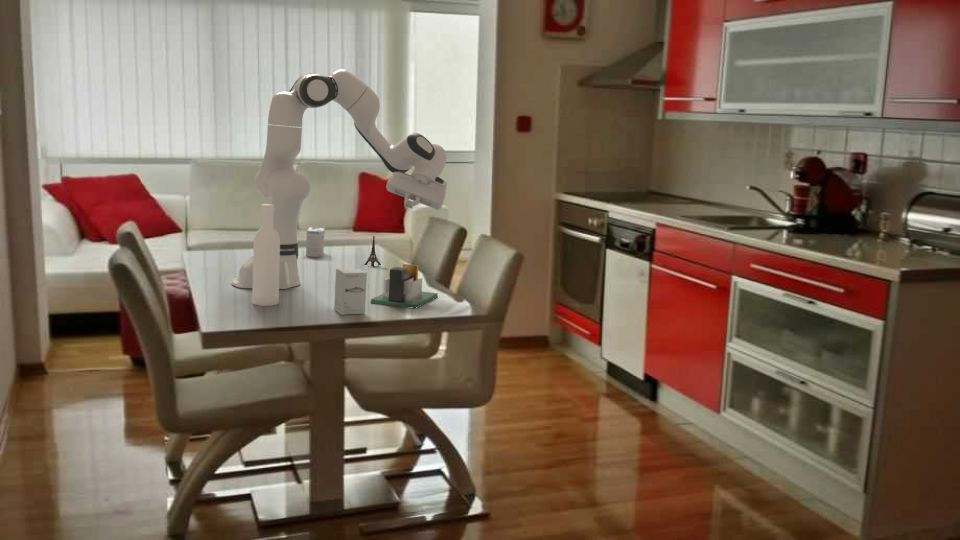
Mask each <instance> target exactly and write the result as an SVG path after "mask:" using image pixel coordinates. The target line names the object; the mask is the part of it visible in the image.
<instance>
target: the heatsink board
mask: <svg viewBox="0 0 960 540" xmlns="http://www.w3.org/2000/svg"><path fill="white" fill-rule="evenodd" d="M407 272H408V268H403V267H400V266H395V267H393V268H390V269H389V277H387V278H385V279H384V280H383V291H382V294H379V295H377V296H375V297H373V298H371V299H370V303H371V304H377V305H386V306H392V305H393V306H394V307H400V306H404V307H403V308H408V307H413V308H412V309H417V308H416V307H418V306H419V307H421V306H423V305H425V304H427V303H429V302H430V300H431V301H433V300H434V299H436V298H437V297H438V295H439V294H438V293H437V292H430V291H423V278H421V277H420V278H418V279H417V280H415V281H414V278H412V277H411V278H409V279H407V280H405V279H404V276H405V275H407ZM435 297H436V298H435ZM433 298H434V299H433ZM428 301H429V302H428ZM426 302H427V303H426ZM424 303H425V304H424ZM422 304H423V305H422ZM420 305H421V306H420ZM419 307H418V308H419Z"/></svg>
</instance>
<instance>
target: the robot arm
mask: <svg viewBox="0 0 960 540" xmlns="http://www.w3.org/2000/svg"><path fill="white" fill-rule="evenodd" d="M332 101H333V102H335V103H337V105H340V107H341V108H343V109H344V110H345V111H346V112H347V113H348V115H350V116H351V118H352V120H353V121H354V123H353V125H354V127H355V129H356V131H357V132H358V133H359V135H360V136H361V137H362V139H364V141H365V142H366V143H367V144H368V145H369V146H370V148H371V149H372V150H373V152H375V153H376V154H377V155H378V157H379V158H380V159H381V161H382V162H383V164H384V166H385V167H386V169H387V170H388V171H389V172H391V173H392V174H391V176H390V178H388V180H387V182H386V190H387V192H390V193H391V194H395V195H397V196H400V197H403V198H404V204H403V206H404V207H407V208H409V209H413V208H414V207H415V206H417V205H419V204H421V205H424V206H427V207H429V208H432V209H434V210H437V211H438V210H441V209H442V208H443V205H444V202H445V198H446V193H447V192H446V191H447V186H448V185H447V183H448V182H447V181H445V180H444V179H443V178H442V177H440V176H441V175H442V172H443V171H444V168H445V166H446V164H447V156H448V155H447V152H446V150H445V149H444V148H443V147H442V146H441V145H439V144H436V143H435V144H434V143H432V142H431V141H430V140H428V139H427V137H425V136H424V135H422V134H421V133H418V132H411V133H409V134H408V135H406V136H405V137H403V138H402V139H401V140H400V141H399V142H397V143H396V144H395V145H394V144H391V143H390V142H389V141H388V140H387V139H386V137H384V135H383V134H382V133H381V132H380V130H378V128H377V126H376V121H377V117H378V115H379V112H380V109H381V108H380V107H381V105H380V98H379V96H378V95H377V93H376V92H375V91H374V89H372V88H371V87H369V85H367V84H366V83H365V82H364V81H363V80H361V79H360V78H359V77H358V76H357V75H355V74H353V73H352V72H350V71H348V70H346V69H337V70H336V71H334V72H332V73H331V74H330V75H329V76H327V75H323V74H320V73H306V74H303V75H301V76H300V77H299V78H297V79H296V80H295V82H294V83H293V85H292V87H291V89H289V91H280V92H277V93H275V94H274V95H273V96H272V98H271V101H270V105H269V111H268V117H267V132H266V147H265V153H264V156H263V159H262V163H261V167H260V168H259V170H258V171H257V172H256V174H255V176H254V180H253V185H254V188H255V190H256V192H257V193H259V194H260V196H262V197H264V198H266V199H268V200H271V201H270V204H272V205H274V221H273V228H274V229H275V230H276V231H277V232H278V234H279V238H280V264H279V290H280V289H281V290H287V289H290V288H294V287H297V286H301V279H300V276H299V268H298V258H299V243H298V224H299V223H298V222H299V216H300V213H301V209H302V207H303V203H304V202H305V200H306V199H307V198H308V196H309V194H310V192H311V184H310V180H309V179H308V178H307V176H305V175H304V174H303V173H302V172H299V171H298V170H294V169H293V167H294V163H295V161H296V158H297V157H298V155H299V154H300V153H301V148H302V135H303V134H302V133H303V131H302V130H303V117H304V113H305V112H306V110H308V109H316V108H321V107H324V106H326V105H328V104H329V103H331V102H332ZM412 167H414V169H413V171H412V172H411V174H408V173H407V172H408V171H410V169H411V168H412ZM231 285H233V286H234V287H236V288H240V289H253V256H251V257H250V258H248V259H247V260H245V261H244V262H243V263H242V264H241V265H240V267H239V271H238V277H234V278H232V279H231Z"/></svg>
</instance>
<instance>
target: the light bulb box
mask: <svg viewBox="0 0 960 540" xmlns="http://www.w3.org/2000/svg"><path fill="white" fill-rule="evenodd" d="M305 242H306V243H305V244H306V245H305V246H306V247H305V257H318V258H321V257H323V254H324V251H325V246H324V245H325V227H310V226H309V227H308V229H307V230H306V241H305Z"/></svg>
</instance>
